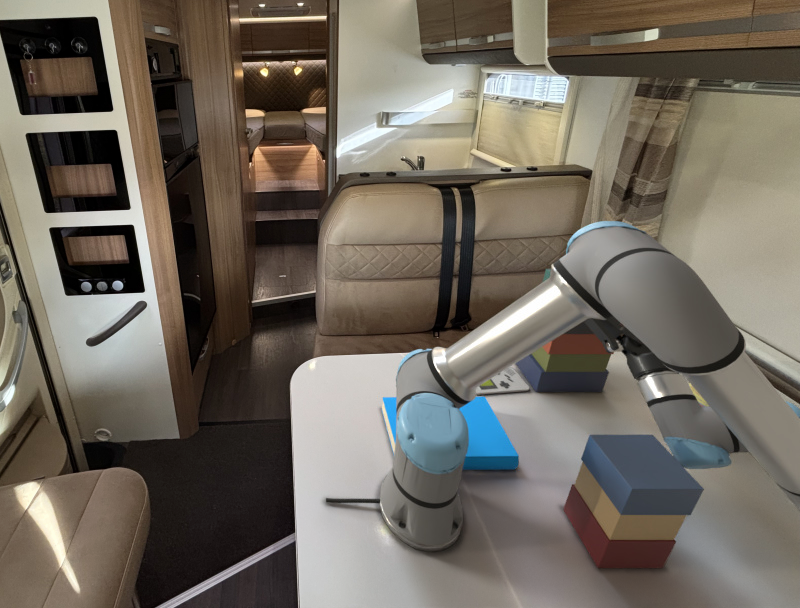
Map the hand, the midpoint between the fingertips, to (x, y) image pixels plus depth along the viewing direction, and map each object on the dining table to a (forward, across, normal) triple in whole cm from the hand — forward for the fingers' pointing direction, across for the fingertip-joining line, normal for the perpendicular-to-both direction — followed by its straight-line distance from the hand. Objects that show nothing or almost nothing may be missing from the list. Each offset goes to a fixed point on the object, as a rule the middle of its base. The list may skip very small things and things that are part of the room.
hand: (606, 279), depth 96 cm
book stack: (-11, 0, -32) cm, 34 cm away
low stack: (-47, -14, -12) cm, 50 cm away
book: (-29, -37, -22) cm, 52 cm away
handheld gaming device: (-13, -18, -31) cm, 38 cm away
